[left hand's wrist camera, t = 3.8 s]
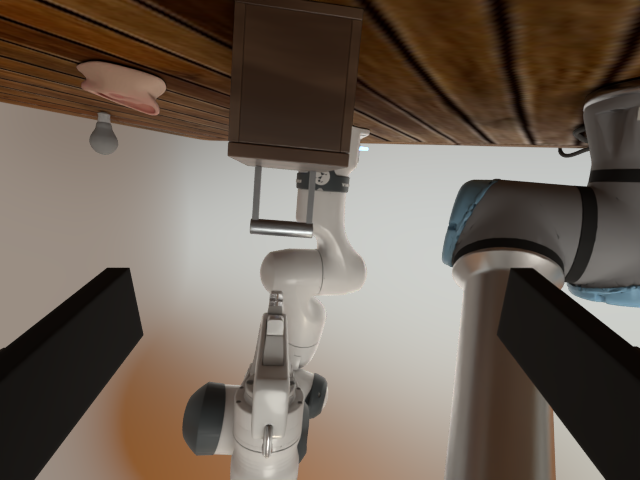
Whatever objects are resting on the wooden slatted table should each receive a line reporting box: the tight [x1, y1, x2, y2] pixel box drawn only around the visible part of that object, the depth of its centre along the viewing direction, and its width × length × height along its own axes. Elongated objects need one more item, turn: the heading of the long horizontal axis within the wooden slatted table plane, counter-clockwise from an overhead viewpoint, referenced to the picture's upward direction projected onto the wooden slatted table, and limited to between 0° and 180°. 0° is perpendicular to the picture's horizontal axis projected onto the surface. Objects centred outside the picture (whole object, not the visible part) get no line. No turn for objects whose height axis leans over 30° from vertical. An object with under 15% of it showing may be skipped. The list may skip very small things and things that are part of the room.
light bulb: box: [90, 112, 118, 155], centre depth 88 cm, size 6×6×10 cm
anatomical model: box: [76, 61, 166, 115], centre depth 52 cm, size 13×4×12 cm
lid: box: [228, 142, 349, 238], centre depth 37 cm, size 17×9×9 cm, turn 174°
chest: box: [228, 0, 363, 154], centre depth 35 cm, size 16×9×10 cm, turn 174°
